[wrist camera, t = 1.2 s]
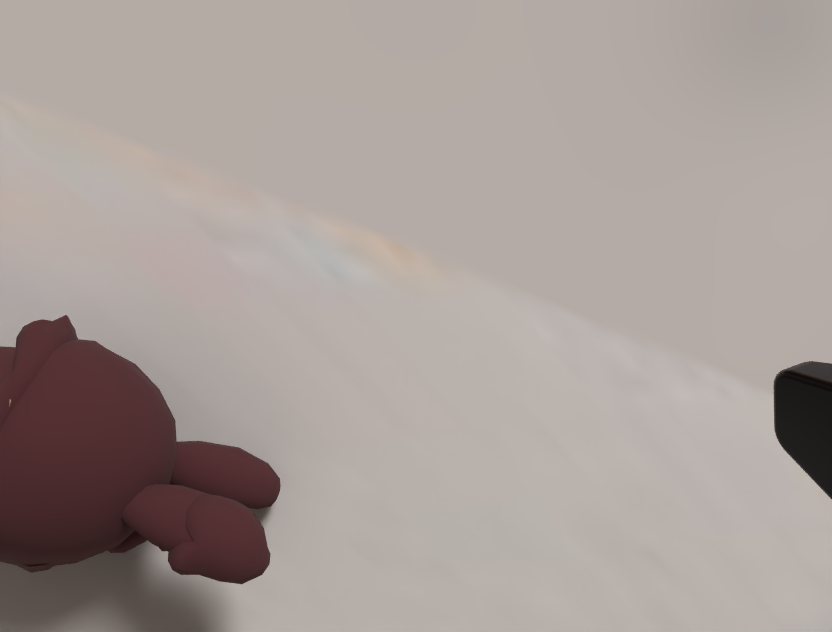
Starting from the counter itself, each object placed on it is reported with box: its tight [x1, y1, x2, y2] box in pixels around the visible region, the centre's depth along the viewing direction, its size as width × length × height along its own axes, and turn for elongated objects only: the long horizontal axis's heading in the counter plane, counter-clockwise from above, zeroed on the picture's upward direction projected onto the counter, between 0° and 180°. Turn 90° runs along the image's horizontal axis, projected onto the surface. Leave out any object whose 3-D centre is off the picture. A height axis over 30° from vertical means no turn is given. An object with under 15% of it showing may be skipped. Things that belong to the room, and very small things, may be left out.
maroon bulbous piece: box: [0, 315, 280, 584], centre depth 20 cm, size 7×7×15 cm
